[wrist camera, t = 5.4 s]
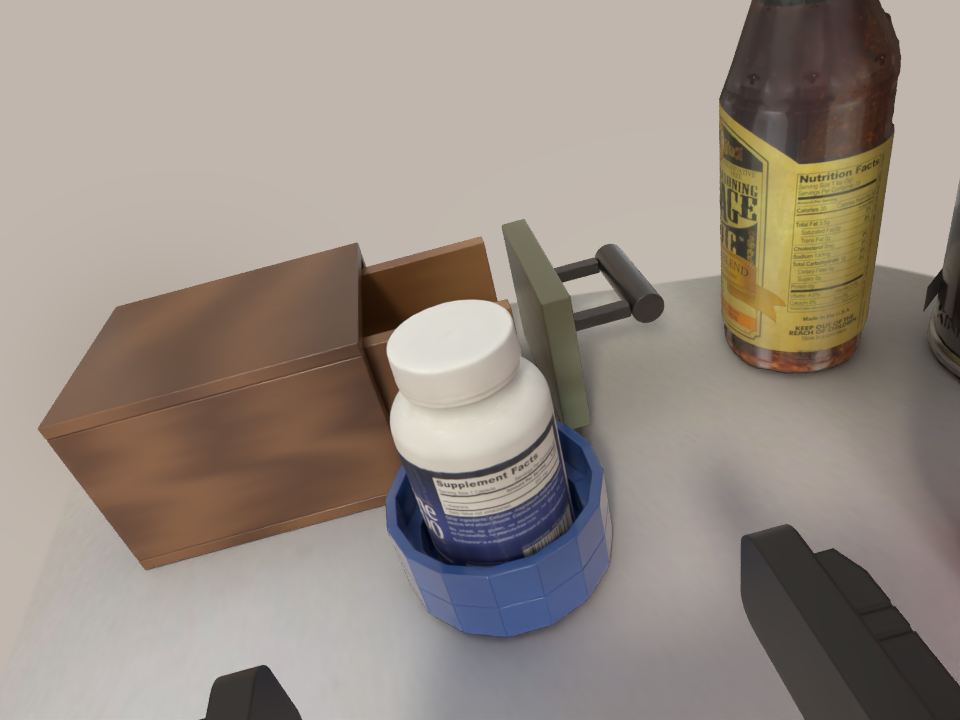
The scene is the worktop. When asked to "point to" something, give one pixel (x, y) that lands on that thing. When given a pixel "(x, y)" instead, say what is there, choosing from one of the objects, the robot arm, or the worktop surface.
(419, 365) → the pill bottle
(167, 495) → the cabinet
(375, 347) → the drawer
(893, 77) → the sauce bottle
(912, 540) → the worktop surface
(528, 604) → the bowl
